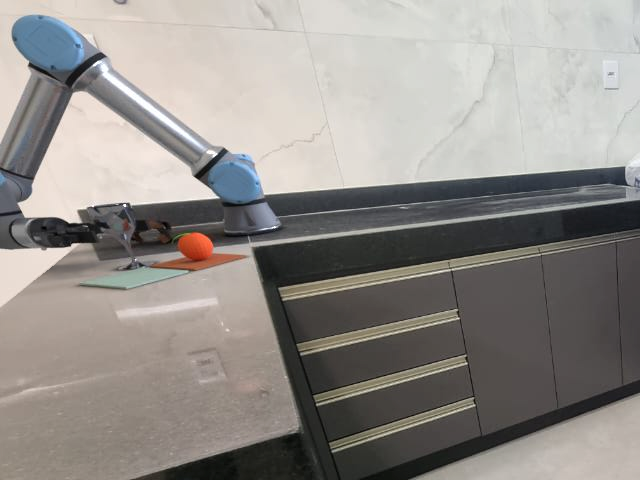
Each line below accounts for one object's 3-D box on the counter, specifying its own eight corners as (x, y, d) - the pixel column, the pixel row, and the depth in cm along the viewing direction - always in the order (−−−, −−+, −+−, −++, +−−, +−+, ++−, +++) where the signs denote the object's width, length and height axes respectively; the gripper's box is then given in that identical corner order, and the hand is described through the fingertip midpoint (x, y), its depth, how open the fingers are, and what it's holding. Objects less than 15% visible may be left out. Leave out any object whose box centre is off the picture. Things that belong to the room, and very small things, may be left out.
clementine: (179, 265, 130) (167, 237, 127) (178, 261, 135) (166, 233, 132) (219, 259, 135) (208, 231, 132) (216, 254, 139) (205, 227, 136)
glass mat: (143, 269, 130) (142, 267, 130) (188, 272, 126) (187, 270, 126) (80, 285, 119) (79, 282, 119) (126, 289, 115) (125, 287, 114)
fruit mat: (203, 254, 143) (202, 252, 143) (246, 256, 138) (245, 255, 138) (150, 267, 132) (149, 265, 132) (195, 270, 127) (194, 268, 127)
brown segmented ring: (159, 247, 156) (130, 225, 152) (143, 261, 160) (114, 239, 155) (188, 228, 165) (161, 206, 161) (172, 241, 169) (146, 220, 164)
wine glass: (151, 260, 139) (125, 201, 133) (161, 264, 135) (134, 203, 128) (112, 267, 133) (82, 207, 127) (120, 271, 129) (90, 209, 122)
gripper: (102, 236, 145) (173, 234, 143) (-5, 260, 122) (78, 258, 120) (88, 208, 141) (161, 206, 140) (-23, 228, 119) (61, 225, 117)
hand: (123, 230), depth 130 cm, fingers open, 13 cm apart
